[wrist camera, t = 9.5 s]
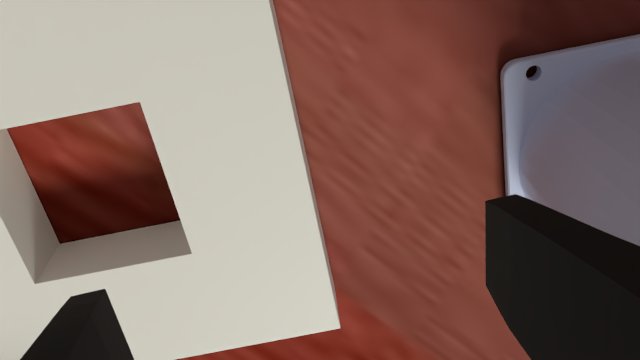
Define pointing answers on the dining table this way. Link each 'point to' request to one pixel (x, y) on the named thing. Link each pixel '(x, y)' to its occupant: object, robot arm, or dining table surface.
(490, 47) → the dining table surface
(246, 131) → the pocket block
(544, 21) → the dining table surface
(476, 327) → the dining table surface
